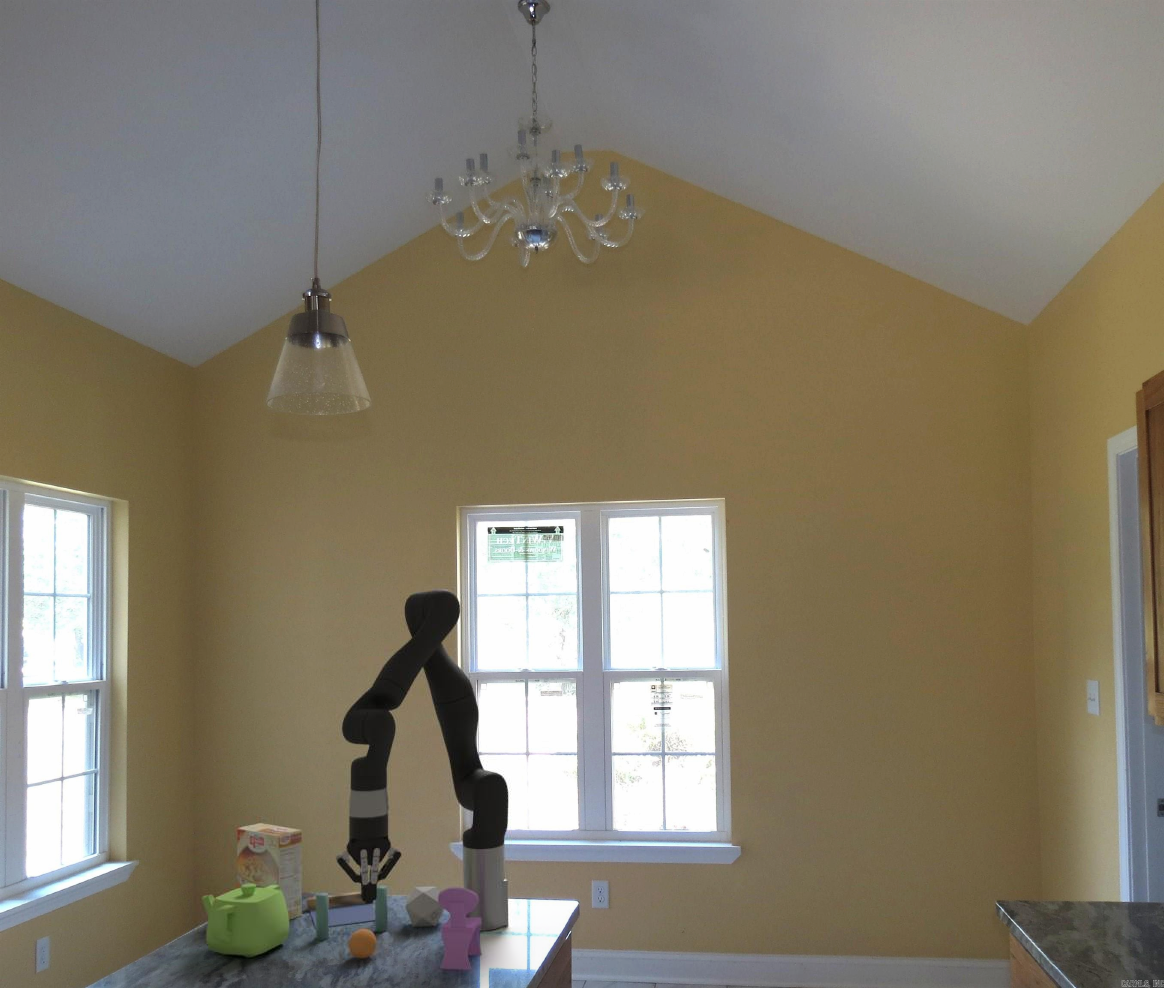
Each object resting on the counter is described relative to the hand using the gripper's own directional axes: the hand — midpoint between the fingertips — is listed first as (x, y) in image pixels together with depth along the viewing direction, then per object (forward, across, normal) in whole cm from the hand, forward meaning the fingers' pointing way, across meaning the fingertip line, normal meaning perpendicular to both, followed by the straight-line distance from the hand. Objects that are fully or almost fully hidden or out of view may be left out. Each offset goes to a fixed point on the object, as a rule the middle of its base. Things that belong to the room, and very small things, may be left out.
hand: (368, 902), depth 201 cm
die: (+13, -16, -26) cm, 33 cm away
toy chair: (+13, -18, 0) cm, 23 cm away
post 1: (+13, +6, -25) cm, 29 cm away
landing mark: (+13, 0, -40) cm, 42 cm away
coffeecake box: (+14, +16, -47) cm, 52 cm away
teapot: (+14, +23, -26) cm, 38 cm away
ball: (+10, 0, -9) cm, 14 cm away
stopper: (+13, 0, -48) cm, 49 cm away
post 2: (+13, -6, -26) cm, 29 cm away
